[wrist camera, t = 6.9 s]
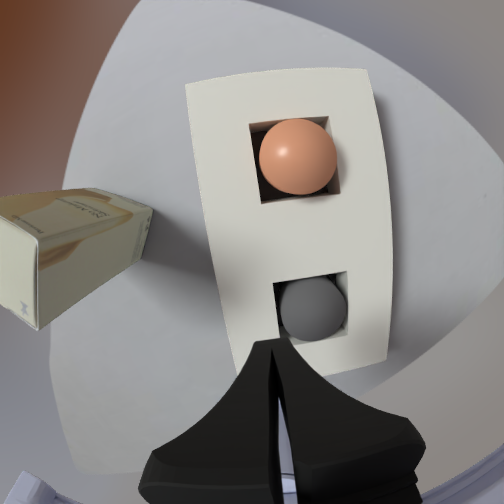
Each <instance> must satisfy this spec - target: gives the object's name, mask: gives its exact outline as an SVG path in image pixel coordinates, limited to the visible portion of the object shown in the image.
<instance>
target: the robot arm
mask: <svg viewBox="0 0 504 504" xmlns="http://www.w3.org/2000/svg"><path fill="white" fill-rule="evenodd" d="M425 449H426V445H425V442H424V440H423V438H422V437H421V435H420V433H419V432H418V431H417V430H416V428H415V427H414V425H413V424H412V423H411V422H410V421H409V419H408V418H405V417H401V416H398V415H394V414H390V413H387V412H384V411H381V410H378V409H376V408H373V407H371V406H368V405H366V404H364V403H362V402H360V401H358V400H356V399H354V398H352V397H350V396H348V395H347V394H345V393H343V392H342V391H340V390H339V389H337V388H336V387H334V386H333V385H332V384H330V383H329V382H328V381H326V380H325V379H324V378H323V377H322V376H321V375H319V374H318V373H317V372H316V371H315V370H314V369H313V368H312V367H311V366H310V365H309V364H308V363H307V362H306V361H305V360H304V359H303V357H302V356H301V355H300V354H299V353H298V351H297V350H296V349H295V347H294V346H293V344H292V343H291V341H290V339H289V338H287V337H282V338H275V339H268V340H260V341H255V342H254V343H253V346H252V349H251V351H250V354H249V356H248V358H247V360H246V362H245V364H244V366H243V368H242V369H241V371H240V373H239V375H238V376H237V378H236V379H235V381H234V382H233V384H232V385H231V387H230V388H229V390H228V391H227V392H226V393H225V395H224V396H223V397H222V398H221V400H220V401H219V402H218V403H217V404H216V405H215V406H214V407H213V408H212V409H211V410H210V411H209V412H208V413H207V414H206V415H205V416H204V417H203V418H202V419H201V420H200V421H198V422H197V423H196V424H195V425H193V426H192V427H191V428H189V429H188V430H187V431H185V432H184V433H183V434H181V435H180V436H178V437H177V438H175V439H173V440H171V441H170V442H168V443H166V444H164V445H163V446H161V447H159V448H157V449H155V450H153V451H152V453H151V455H150V457H149V459H148V461H147V463H146V465H145V468H144V471H143V474H142V477H141V480H140V483H139V486H138V490H139V493H140V494H141V496H142V497H143V498H144V499H145V500H146V501H147V502H148V503H149V504H504V444H503V445H501V446H500V447H499V448H497V449H496V450H495V451H494V452H492V453H491V454H489V455H488V456H486V457H485V458H484V459H482V460H481V461H479V462H478V463H477V464H475V465H473V466H472V467H470V468H469V469H467V470H465V471H464V472H462V473H461V474H459V475H457V476H455V477H454V478H452V479H450V480H448V481H447V482H445V483H443V484H441V485H439V486H437V487H435V488H433V489H431V490H429V491H427V492H425V493H423V494H421V495H420V493H419V491H418V489H417V486H416V484H415V483H417V481H418V478H417V476H416V474H415V472H414V470H415V468H416V467H417V465H418V463H419V462H420V460H421V458H422V457H423V454H424V452H425ZM4 504H81V503H79V502H77V501H74V500H72V499H69V498H67V497H65V496H63V495H60V494H59V493H57V492H56V491H55V490H54V489H53V488H52V487H51V486H50V485H48V484H47V483H46V482H44V481H43V480H41V479H40V478H38V477H36V476H34V475H32V474H30V473H29V472H27V471H25V470H23V471H22V473H21V474H20V476H19V478H18V479H17V481H16V483H15V484H14V486H13V488H12V489H11V491H10V493H9V495H8V496H7V498H6V500H5V502H4Z"/></svg>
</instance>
